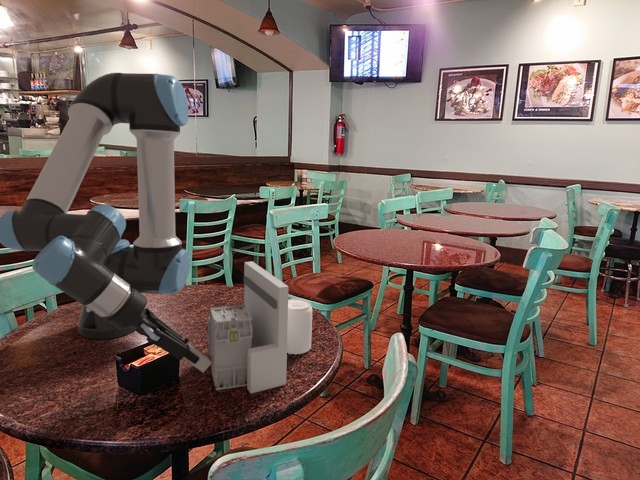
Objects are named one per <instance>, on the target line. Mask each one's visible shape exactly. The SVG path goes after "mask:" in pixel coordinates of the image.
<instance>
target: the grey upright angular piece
mask: <svg viewBox="0 0 640 480" xmlns="http://www.w3.org/2000/svg"><path fill="white" fill-rule="evenodd" d="M243 266H244V271H243V273H244V276H243V284H244V290H243V291H244V292H243V293H244V298H243V299H244V302H243V303H244V304H243V305H245V306H246V308H247V310H248V312H249V314H250V315H251V318H252V320H251V324H252V338H251V348H250V349H247V382H246V383H247V388H246V389H247V391H248V392H249V393H250V394H255V393H258V392H263V391H266V390H270V389H274V388H277V387H282V386H285V385H287V371H288V370H287V367H288V366H287V365H288V364H287V362H288V361H287V360H288V354H287V328H288V299H289V286H288V285H287V284H285V283H284V282H283V281H281V280H280V279H279V278H277V277H276V276H274V275H273V274H271V273H270V272H268V271H267V270H266V269H264V268H263V267H261V266H260V265H258V264H257V263H256V262H254V261H252V260H251V261H244V265H243Z"/></svg>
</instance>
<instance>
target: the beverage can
mask: <svg viewBox="0 0 640 480" xmlns="http://www.w3.org/2000/svg"><path fill="white" fill-rule="evenodd" d="M312 324H313V307H312V304H311V302H310V301H309V300H307V299H304V298H297V297H296V298H288V328H287V353H288V354H287V355H292V354H294V355H293V356H295V355H297V354H298V355H303V354H306V353H307V352H309V351H310V350H311V348H312V333H313V332H312V331H313V325H312ZM298 355H297V356H298Z"/></svg>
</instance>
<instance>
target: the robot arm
mask: <svg viewBox="0 0 640 480" xmlns="http://www.w3.org/2000/svg"><path fill="white" fill-rule="evenodd" d="M67 115H68V118H69V119H68V121H67V123H66V124H65V126H64V128H63V129H62V132H61V133H60V136H59V137H58V139H57V142H56V143H55V145H54V147H53V149H52V151H51V152H50V154H49V156H48V158H47V160H46V161H45V164H44V166H43V168H42V169H41V171H40V172H39V175H38V177H37V179H36V180H35V183H34V184H33V186H32V188H31V190H30V192H29V194H28V196H27V198H26V200H25V201H24V203H23V204H22V206H21V208H20V210H18V209H17V210H10V211H6V212H5V213H3V214H1V215H0V244H1V246H3V247H5V248H7V249H9V250H10V249H11V250H17V251H18V250H19V251H24V252H31V251H34V252H35V251H37V252H39V253H38V254H37V255H35V258H34V259H33V261H32V263H31V269H32V270H33V271H34V272H35V273H36V274H38V276H40V277H41V278H42V279H44V280H45V281H46V282H47V283H48V284H50V285H51V286H53V287H55V288H56V289H58V290H60V291H62V292H63V293H65V294H66V295H68V296H69V297H70V298H71V299H73V300H75V301H76V302H78V303H80V304H81V305H82V308H81V312H80V315H79V318H78V322H77V329H78V330H77V331H78V334H79V335H80V336H82V337H84V338H87V339H92V340H94V339H95V340H106V339H107V340H108V339H115V338H119V337H123V336H127V335H129V334H131V333H133V332H135V331H136V333H138V334H139V335H141V336H144V337H146V339H145V340H146V341H147V343H150V344H152V345H154V346H156V347H158V348H160V349H161V350H163V351H165V352H166V353H168V354H170V355H171V356H173V357H174V358H176V361H182V360H185V361H186V362H187V363H189V364H190V365H192V366H193V367H195V368H196V369H197V370H199V371H200V372H201V373H203V374H204V373H205V371H206V370H208V368H209V367H211V364H212V362H211V358H209V357H207V356H206V355H205V354H203V353H202V352H201V351H199V350H198V349H196V348H195V347H193V346H192V344H190V343H189V342H190V339H189V338H188V337H187V336H186V337H185V338H183V336H182V335H181V334H179V333H178V332H177V331H175V329H173V328H172V327H170V326H169V325H168V324H167V323H166V322H164V321H163V320H162V319H160V317H158V316H157V315H155V314H154V312H153V311H152V310H150V308H147V307H146V306H147V303H148V298H147V297H146V296H145V295H144V294H153V295H159V296H161V295H162V296H163V295H177V294H178V293H179V292H181V291H182V290H183V288H184V287H185V284H186V282H187V280H188V276H189V273H190V268H191V256H190V252H189V251H188V250H187V249H184V248H183V242H182V240H181V239H180V238H179V237H177V235H176V197H175V195H176V192H175V191H176V190H175V185H176V184H175V182H176V181H175V140H176V138H178V137H179V136H180V134H181V127H183V126H186V125H187V124H188V121H189V119H188V118H189V102H188V98H187V94H186V92H185V89H184V86H183V84H182V83H181V81H180V80H179V79H178V78H177V77H175V76H174V75H171V74H169V75H168V74H162V73H135V72H134V73H133V72H132V73H128V72H127V73H124V72H110V73H107V74H103V75H102V76H98V78H96V79H94V80H92V81H91V82H89V83H88V84H87V85H85V86H84V88H82V90H80V92H78V94H76V96H75V97H74V98H73V100H72V102H71V103H70V105H69V107H68V110H67ZM118 124H127V125H129V126H128V127H129V132H130V134H131V135H133V136H134V137H135V139H136V162H137V164H136V165H137V189H138V190H137V194H138V197H137V199H138V223H139V227H138V229H139V236H138V238H136V239H135V240H134V241H132V242H133V244H132V245H133V246H132V247H131V243H130V242H129V240H127V239H121V238H122V236H123V234H124V231H125V230H126V227H127V221H126V219H125V217H124V215H123V213H121V212H120V211H119V210H118V209H116V207H113V206H111V205H109V204H97V205H96V206H92V208H90V209H89V210H88V211H87V213H85V214H81V213H80V214H79V213H78V214H77V213H68V212H69V210H70V208H71V205H72V203H73V201H74V199H75V197H76V195H77V193H78V190H79V189H80V186H81V184H82V181H83V180H84V177H85V175H86V173H87V171H88V169H89V167H90V165H91V162H92V161H93V158H94V156H95V154H96V152H97V149H98V148H99V145H100V143H101V141H102V138H103V137H104V136H106V135H109V133H111V131H112V129H113V126H115V125H118Z"/></svg>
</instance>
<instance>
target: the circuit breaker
mask: <svg viewBox="0 0 640 480" xmlns="http://www.w3.org/2000/svg"><path fill="white" fill-rule="evenodd" d="M209 313H210V314H209V316H207V330H208V331H207V332H208V333H207V335H208V337H207V338H208V339H207V342H208V349H209V354H210V360H211V362H212V364H211V365H210V371H211V372H210V373H211V376H212V380H213V383H214V387H215V391H221V390H228V389H234V388H239V387H241V388H242V387H246V386H247V349H250V348H251V338H252V324H251V320H252V318H251V315H250V314H249V312H248V310H247V308H246V306H245V305H244V304H240V305H228V306H219V307H218V306H217V307H216V306H215V307H210V308H209Z"/></svg>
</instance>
